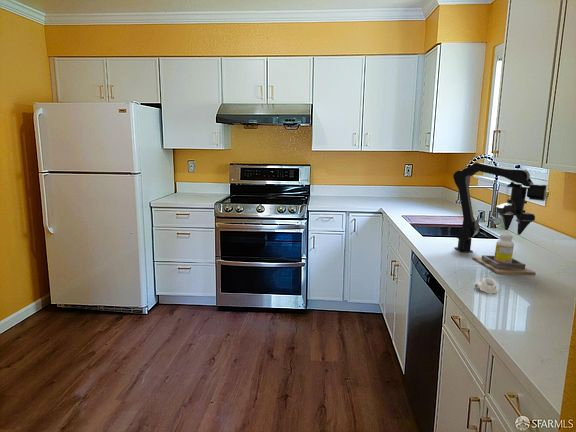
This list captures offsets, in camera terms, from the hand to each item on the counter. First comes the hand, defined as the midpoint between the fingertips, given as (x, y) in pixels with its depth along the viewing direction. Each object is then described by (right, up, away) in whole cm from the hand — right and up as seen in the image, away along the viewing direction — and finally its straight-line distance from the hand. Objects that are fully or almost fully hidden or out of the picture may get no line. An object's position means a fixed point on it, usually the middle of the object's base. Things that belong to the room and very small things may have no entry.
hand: (512, 232), depth 179 cm
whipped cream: (-30, -20, -37) cm, 51 cm away
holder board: (-9, -14, -8) cm, 19 cm away
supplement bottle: (-9, -14, -8) cm, 18 cm away
